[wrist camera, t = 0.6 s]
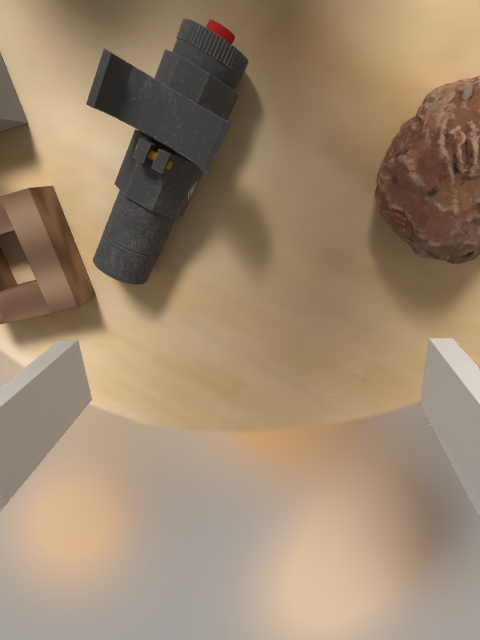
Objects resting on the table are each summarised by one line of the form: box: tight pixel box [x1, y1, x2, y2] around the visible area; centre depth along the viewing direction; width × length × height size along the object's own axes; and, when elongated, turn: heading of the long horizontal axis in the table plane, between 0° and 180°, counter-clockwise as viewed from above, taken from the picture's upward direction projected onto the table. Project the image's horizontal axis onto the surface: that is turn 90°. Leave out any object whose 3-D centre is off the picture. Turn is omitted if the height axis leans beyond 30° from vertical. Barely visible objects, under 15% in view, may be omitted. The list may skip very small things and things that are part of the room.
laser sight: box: [86, 19, 248, 284], centre depth 34 cm, size 10×22×10 cm, turn 152°
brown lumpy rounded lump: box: [375, 76, 480, 264], centre depth 31 cm, size 13×11×10 cm
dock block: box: [0, 186, 95, 324], centre depth 42 cm, size 12×12×4 cm
